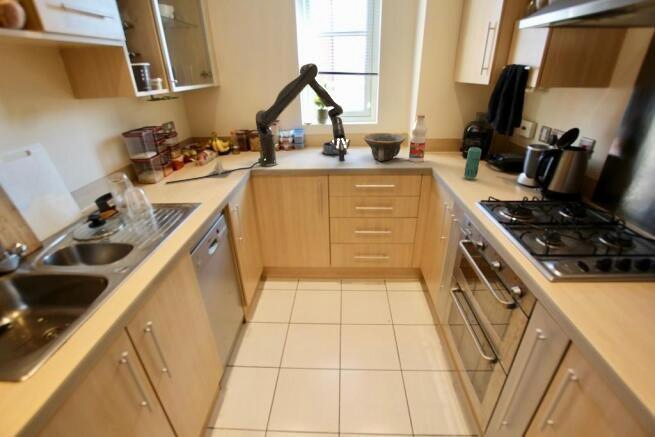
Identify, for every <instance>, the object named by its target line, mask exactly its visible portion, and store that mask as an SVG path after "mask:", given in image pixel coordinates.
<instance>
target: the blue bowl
mask: <svg viewBox="0 0 655 437" xmlns="http://www.w3.org/2000/svg"><path fill="white" fill-rule="evenodd" d="M334 145H335V146H336V147H337V144H335V143H334ZM345 145H346V146H347V142H345ZM338 149H341V147H340V146H339V147H338ZM343 149H344V148H343ZM322 152H323V153H324V154H327V155H338V154H337V150H334V149H333V147H332V146H331V144H330V141H327V142H323V143H322Z"/></svg>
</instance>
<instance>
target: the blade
mask: <svg viewBox="0 0 655 437" xmlns="http://www.w3.org/2000/svg"><path fill="white" fill-rule="evenodd" d="M340 147H341V149H339V153H340V154H339V155H338V160H339V162H344V161H345V154H344V149H343V145H342V144H340Z"/></svg>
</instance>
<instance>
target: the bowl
mask: <svg viewBox="0 0 655 437" xmlns="http://www.w3.org/2000/svg"><path fill="white" fill-rule="evenodd" d="M363 140H364V142H365V143H366V144H367V145H368V147H370V149H371V155H372V156H373V159H375V160H378V161H379V162H384V161H390V160H393V159H394V157H395V158H396V157H397V156H398V155H399V153H400V151H401V145H402V144H403V143H404V141H405V140H406V137H405V136H404V135H402V134H399V133H391V132H390V133H389V132H376V133H375V132H374V133H369V134H365V135H364V136H363Z"/></svg>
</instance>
